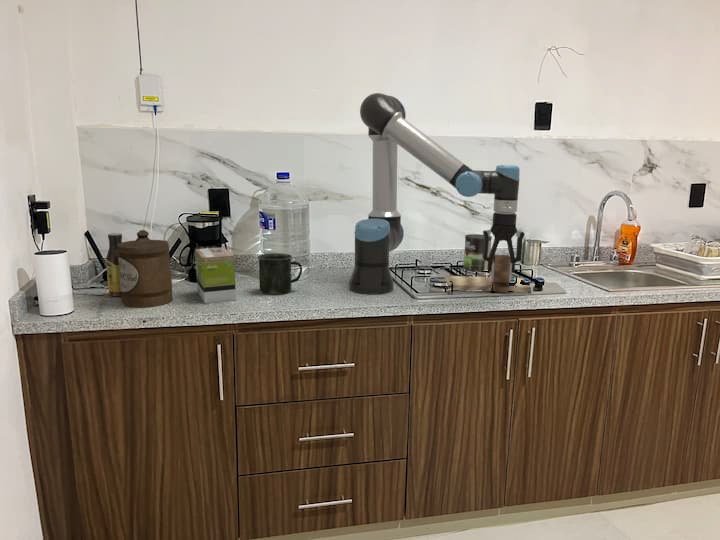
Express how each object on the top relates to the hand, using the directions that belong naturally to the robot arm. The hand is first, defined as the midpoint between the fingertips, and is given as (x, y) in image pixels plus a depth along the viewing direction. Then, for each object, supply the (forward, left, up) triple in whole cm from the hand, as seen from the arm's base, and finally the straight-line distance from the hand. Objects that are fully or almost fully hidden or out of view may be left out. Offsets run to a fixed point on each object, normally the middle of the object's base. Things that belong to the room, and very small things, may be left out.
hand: (500, 281), depth 191 cm
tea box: (-93, -18, -4) cm, 94 cm away
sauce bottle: (-124, -20, -4) cm, 125 cm away
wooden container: (-112, -26, -4) cm, 115 cm away
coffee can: (-4, +32, -4) cm, 33 cm away
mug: (-74, -9, -4) cm, 74 cm away
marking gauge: (0, +4, -3) cm, 5 cm away
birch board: (-4, +6, -4) cm, 8 cm away
